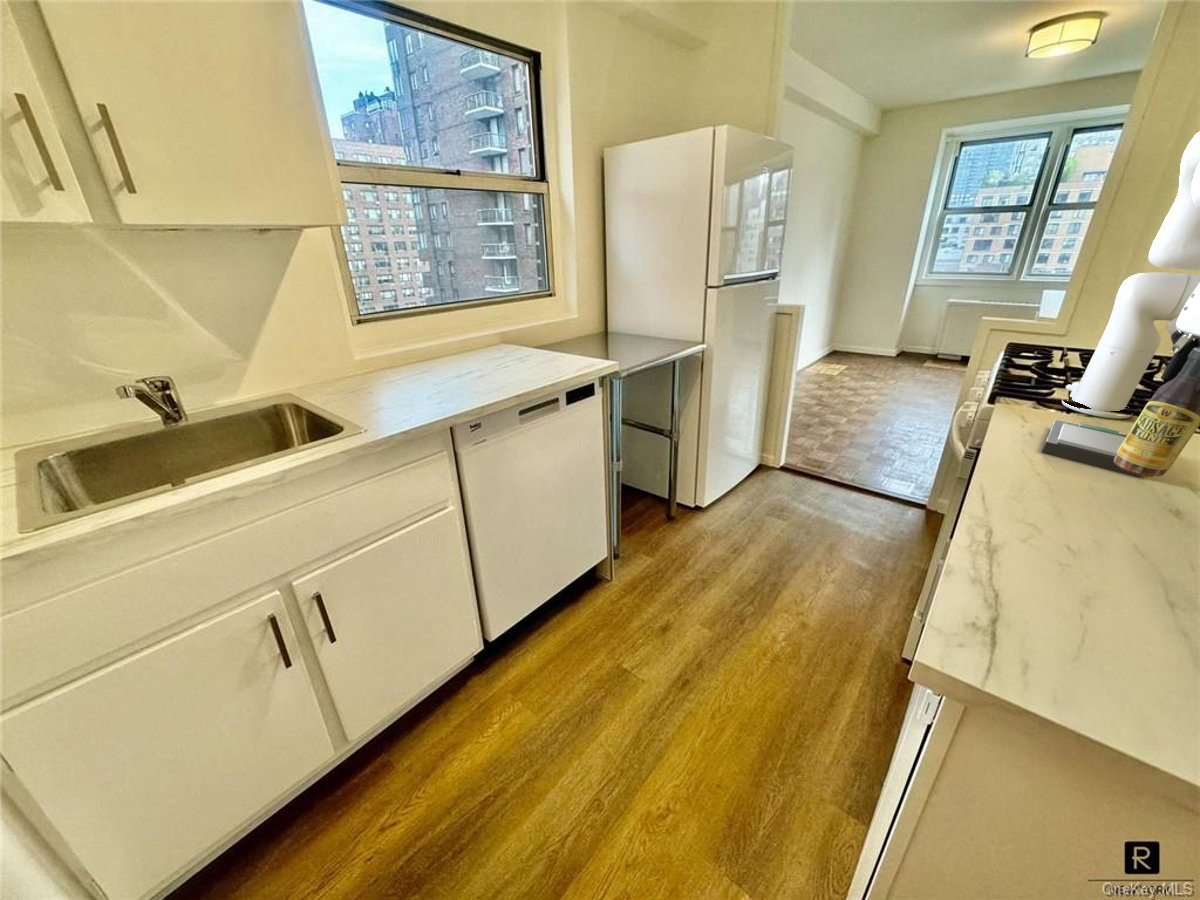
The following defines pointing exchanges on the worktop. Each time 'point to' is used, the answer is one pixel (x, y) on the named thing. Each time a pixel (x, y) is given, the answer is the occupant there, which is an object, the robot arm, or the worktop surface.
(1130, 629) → the worktop surface
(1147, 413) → the sauce bottle
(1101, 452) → the scale
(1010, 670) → the worktop surface
